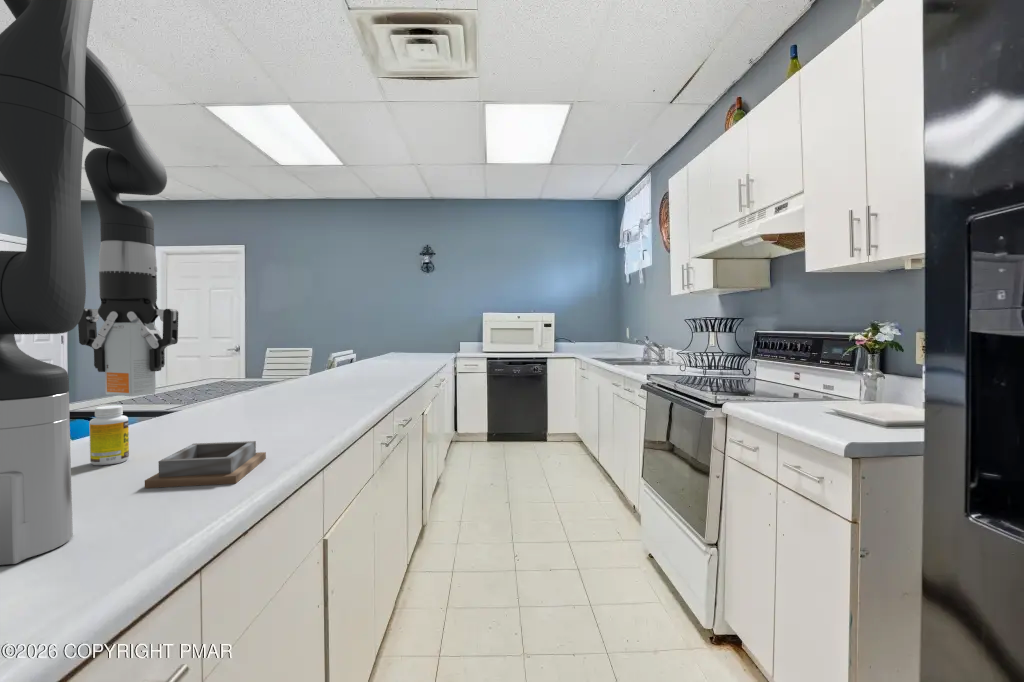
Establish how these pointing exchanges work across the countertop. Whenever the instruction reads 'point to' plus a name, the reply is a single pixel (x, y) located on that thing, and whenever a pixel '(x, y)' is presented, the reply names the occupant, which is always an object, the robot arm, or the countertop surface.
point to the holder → (207, 464)
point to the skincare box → (128, 361)
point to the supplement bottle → (109, 436)
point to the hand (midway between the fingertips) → (130, 371)
